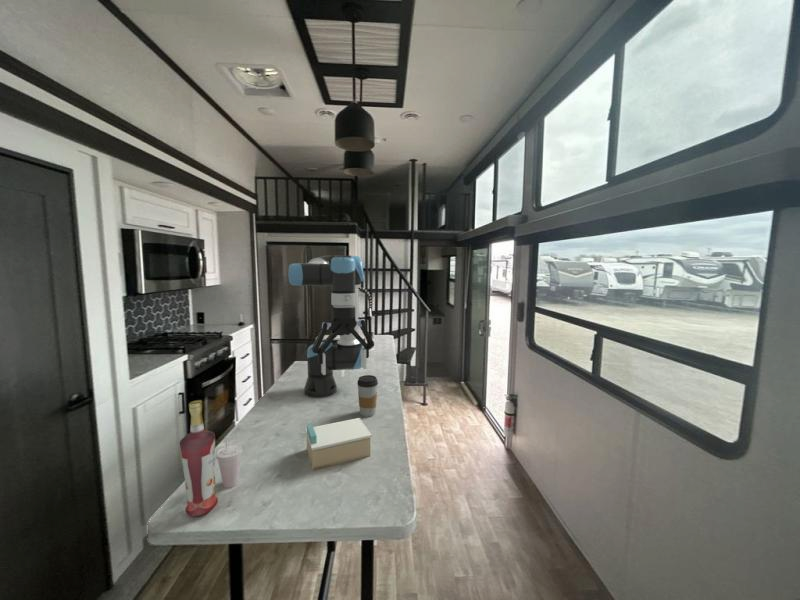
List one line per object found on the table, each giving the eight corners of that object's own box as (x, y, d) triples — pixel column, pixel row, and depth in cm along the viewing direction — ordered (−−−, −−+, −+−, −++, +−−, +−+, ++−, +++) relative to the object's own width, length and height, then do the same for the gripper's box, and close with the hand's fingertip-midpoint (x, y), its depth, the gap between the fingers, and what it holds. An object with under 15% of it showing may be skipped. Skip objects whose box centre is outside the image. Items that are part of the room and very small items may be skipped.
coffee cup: (374, 419, 130) (374, 382, 128) (354, 417, 131) (354, 381, 129) (380, 409, 138) (380, 375, 136) (361, 408, 139) (361, 374, 138)
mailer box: (306, 449, 108) (306, 432, 108) (358, 437, 116) (358, 421, 115) (313, 470, 97) (312, 451, 97) (370, 455, 105) (370, 438, 104)
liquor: (215, 517, 79) (208, 407, 76) (180, 524, 77) (171, 411, 74) (222, 496, 86) (216, 395, 83) (190, 502, 84) (183, 398, 81)
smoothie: (224, 476, 94) (221, 430, 93) (247, 475, 95) (244, 429, 93) (213, 492, 88) (210, 443, 86) (238, 490, 89) (235, 442, 87)
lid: (305, 430, 108) (305, 421, 107) (359, 419, 115) (359, 411, 115) (311, 450, 96) (311, 440, 96) (371, 437, 104) (371, 427, 104)
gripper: (305, 309, 95) (307, 380, 98) (384, 305, 107) (383, 368, 109) (301, 306, 102) (302, 372, 104) (375, 302, 113) (375, 362, 116)
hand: (344, 370), depth 107 cm, fingers open, 13 cm apart
